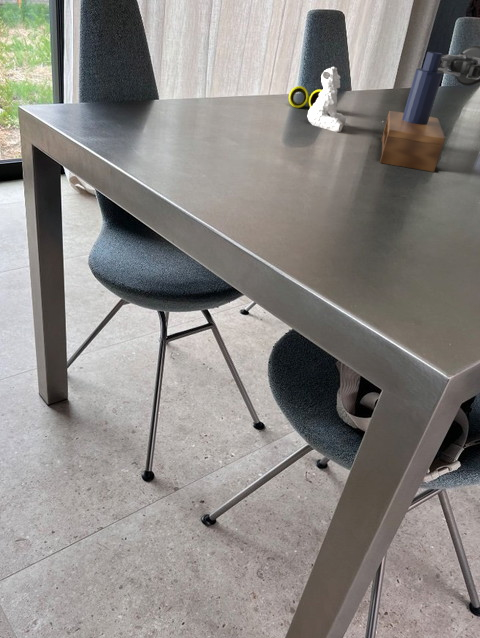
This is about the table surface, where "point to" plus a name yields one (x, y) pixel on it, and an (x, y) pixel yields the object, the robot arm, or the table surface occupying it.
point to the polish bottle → (423, 90)
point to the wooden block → (411, 143)
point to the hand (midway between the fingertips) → (450, 67)
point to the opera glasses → (310, 99)
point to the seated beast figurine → (327, 103)
